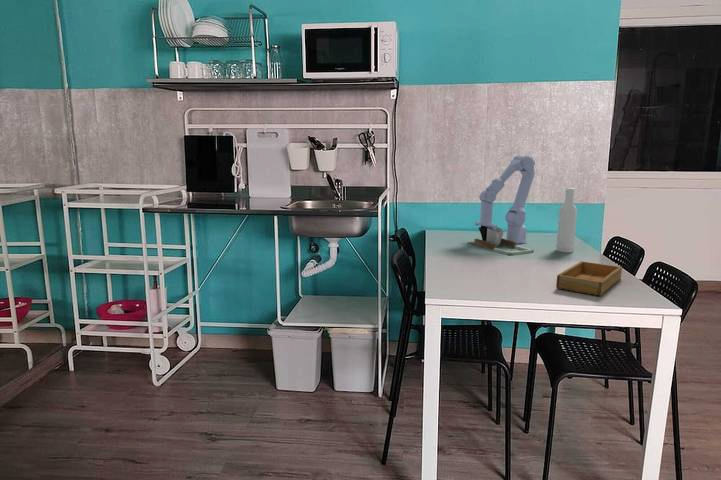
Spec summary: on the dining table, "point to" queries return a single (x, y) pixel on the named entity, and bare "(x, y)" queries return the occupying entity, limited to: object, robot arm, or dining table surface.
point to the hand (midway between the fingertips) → (484, 241)
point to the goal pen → (515, 251)
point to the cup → (494, 235)
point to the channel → (492, 245)
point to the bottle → (567, 224)
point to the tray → (589, 278)
